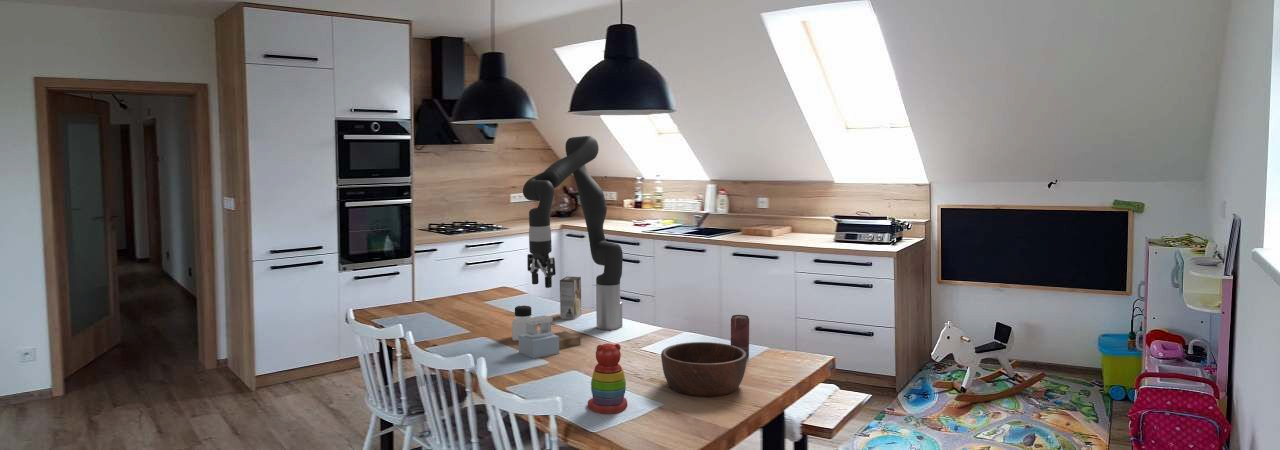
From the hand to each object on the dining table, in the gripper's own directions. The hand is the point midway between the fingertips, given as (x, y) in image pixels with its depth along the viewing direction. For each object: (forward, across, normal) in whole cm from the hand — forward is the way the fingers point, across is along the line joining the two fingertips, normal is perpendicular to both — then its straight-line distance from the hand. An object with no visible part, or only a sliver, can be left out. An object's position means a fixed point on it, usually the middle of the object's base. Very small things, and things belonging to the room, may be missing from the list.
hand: (541, 285), depth 268 cm
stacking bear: (+22, -62, +18) cm, 68 cm away
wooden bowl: (+23, -64, -15) cm, 70 cm away
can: (+24, -50, -45) cm, 71 cm away
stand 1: (+23, -2, +3) cm, 23 cm away
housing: (+17, -2, +3) cm, 17 cm away
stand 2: (+23, +3, -9) cm, 25 cm away
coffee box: (+24, +38, -36) cm, 57 cm away
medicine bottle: (+23, +19, -3) cm, 30 cm away
